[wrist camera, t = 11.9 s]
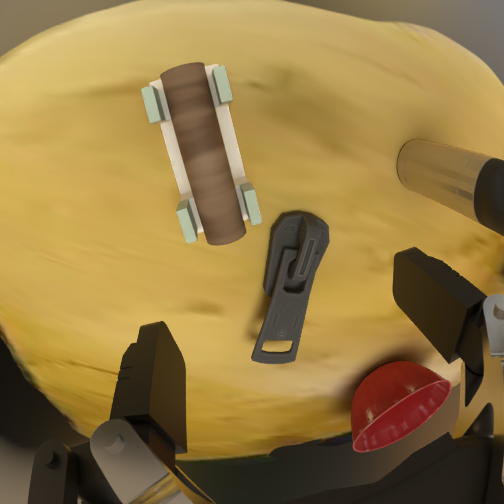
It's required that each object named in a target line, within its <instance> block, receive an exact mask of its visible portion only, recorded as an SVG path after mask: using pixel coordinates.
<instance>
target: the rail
mask: <svg viewBox="0 0 504 504" xmlns="http://www.w3.org/2000/svg"><path fill="white" fill-rule="evenodd" d="M160 77H161V81H162V85H163V89H164V93H165V97H166V101H167V105H168V109H169V112H170V116H171V120H172V124H173V127H174V131H175V135H176V138H177V142H178V146H179V149H180V153H181V156H182V160H183V163H184V167H185V170H186V174H187V177H188V181H189V184H190V187H191V191H192V194H193V197H194V201H195V204H196V207H197V211H198V214H199V217H200V220H201V224H202V227H203V230H204V233H205V236H206V240H207V242H208V244H210V245H225V244H229V243H232V242H235V241H237V240H239V239H240V238H242V237H243V236H244V235H245V234H246V228H245V224H244V220H243V216H242V212H241V208H240V205H239V201H238V197H237V193H236V189H235V185H234V181H233V177H232V173H231V169H230V165H229V161H228V157H227V153H226V149H225V145H224V142H223V138H222V134H221V130H220V126H219V122H218V118H217V114H216V110H215V106H214V102H213V98H212V94H211V90H210V86H209V82H208V78H207V75H206V71H205V67H204V63H200V62H198V63H189V64H184V65H180V66H177V67H174V68H172V69H169V70H167V71H165V72H163V73H162V74H161V75H160Z"/></svg>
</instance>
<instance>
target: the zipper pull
mask: <svg viewBox="0 0 504 504" xmlns="http://www.w3.org/2000/svg"><path fill="white" fill-rule="evenodd" d="M328 244H329V227H328V225H327V224H326V223H325V222H324V221H323V220H321V219H320V218H318V217H316V216H315V215H313V214H312V213H307V212H302V211H293V212H286V213H282V214H281V215H280V217H279V218H278V219H277V221H276V222H275V223H274V225H273V226H272V227H271V233H270V241H269V249H268V256H267V263H266V269H265V276H264V284H263V287H264V290H265V293H266V294H267V295H269V296H270V297H271V300H270V303H269V306H268V309H267V312H266V315H265V318H264V321H263V324H262V327H261V330H260V333H259V336H258V339H257V341H256V344H255V347H254V350H253V353H252V356H251V359H252V361H255V362H259V363H265V364H284V363H289V362H293V361H295V359H296V354H297V350H298V346H299V342H300V337H301V332H302V328H303V323H304V319H305V314H306V309H307V305H308V300H309V295H310V291H311V287H312V284H313V280H314V276H315V272H316V270H317V268H318V266H319V264H320V261H321V259H322V257H323V255H324V253H325V251H326V248H327V246H328ZM266 340H286V341H293V342H292V346H291V349H290V350H289V351H285V352H267V351H263V350H262V346H263V343H264V342H265V341H266Z"/></svg>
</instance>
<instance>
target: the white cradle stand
mask: <svg viewBox="0 0 504 504" xmlns="http://www.w3.org/2000/svg"><path fill="white" fill-rule="evenodd" d="M205 71H206V75H207V78H208V82H209V86H210V90H211V94H212V98H213V102H214V106H215V110H216V114H217V118H218V122H219V126H220V130H221V134H222V138H223V142H224V145H225V149H226V153H227V157H228V161H229V165H230V169H231V173H232V177H233V181H234V185H235V189H236V193H237V197H238V201H239V205H240V208H241V212H242V216H243V220H247V219H249V220H250V222H251V224H252V225H256V224H260V223H262V219H261V215H260V210H259V206H258V202H257V197H256V193H255V189H254V188H253V187H252V185H251V184H250V183H249V181H248V180H247V179H246V176H245V172H244V168H243V164H242V160H241V156H240V152H239V147H238V143H237V139H236V135H235V131H234V127H233V123H232V119H231V115H230V111H229V107H228V104H229V103H230V102H231V101H232V100H233V98H232V94H231V90H230V86H229V82H228V78H227V74H226V70H225V66H224V65H223V66H218V63H217V64H213V65H209V66H205ZM141 91H142V95H143V99H144V103H145V107H146V111H147V115H148V118H149V122H150V124H160V125H161V129H162V133H163V136H164V140H165V143H166V147H167V151H168V154H169V157H170V161H171V164H172V168H173V171H174V174H175V178H176V181H177V184H178V188H179V191H180V194H181V197H180V200H179V204H178V207H177V210H176V212H177V215H178V218H179V221H180V224H181V227H182V230H183V233H184V236H185V239H186V242H187V244H188V243H192V242H195V241H197V234H198V233H201V232H204V230H203V227H202V224H201V220H200V217H199V214H198V211H197V207H196V204H195V201H194V197H193V194H192V191H191V187H190V184H189V181H188V177H187V174H186V170H185V167H184V163H183V160H182V156H181V153H180V149H179V146H178V142H177V138H176V135H175V131H174V127H173V124H172V120H171V116H170V112H169V109H168V105H167V101H166V97H165V93H164V89H163V85H162V81H161V79H159V80H156V81H153V82H150V86H148V87H145V88H142V89H141Z"/></svg>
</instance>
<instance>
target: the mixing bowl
mask: <svg viewBox="0 0 504 504" xmlns="http://www.w3.org/2000/svg"><path fill="white" fill-rule="evenodd" d="M450 391H451V383H450V382H449V381H448V380H445V379H444V378H442V377H441V376H439V375H438V374H436V373H435V372H433V371H431V370H430V369H428V368H426V367H423V366H421V365H418V364H416V363H413V362H409V361H396V362H392V363H387V364H384V365H382V366H380V367H378V368H377V369H375V370H374V371H372V372H371V373H370V374H369V375H367V376H366V377H365V379H364V380H363V381H362V382H361V384H360V385H359V387H358V388H357V390H356V392H355V394H354V397H353V401H352V409H351V429H352V438H353V449H354V450H355V451H358V452H368V451H372V450H376V449H379V448H382V447H385V446H387V445H390V444H392V443H394V442H396V441H398V440H400V439H401V438H403V437H405V436H407V435H408V434H410V433H411V432H413V431H414V430H416V429H417V428H418V427H419V426H421V425H422V424H423V423H425V422H426V421H427V420H428V419H429V418H430V417H431V416H432V415H433V414H434V413H435V412H436V411H437V410H438V409H439V408H440V407H441V406H442V404H443V403H444V401H445V400H446V399H447V397H448V395H449V393H450Z"/></svg>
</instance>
